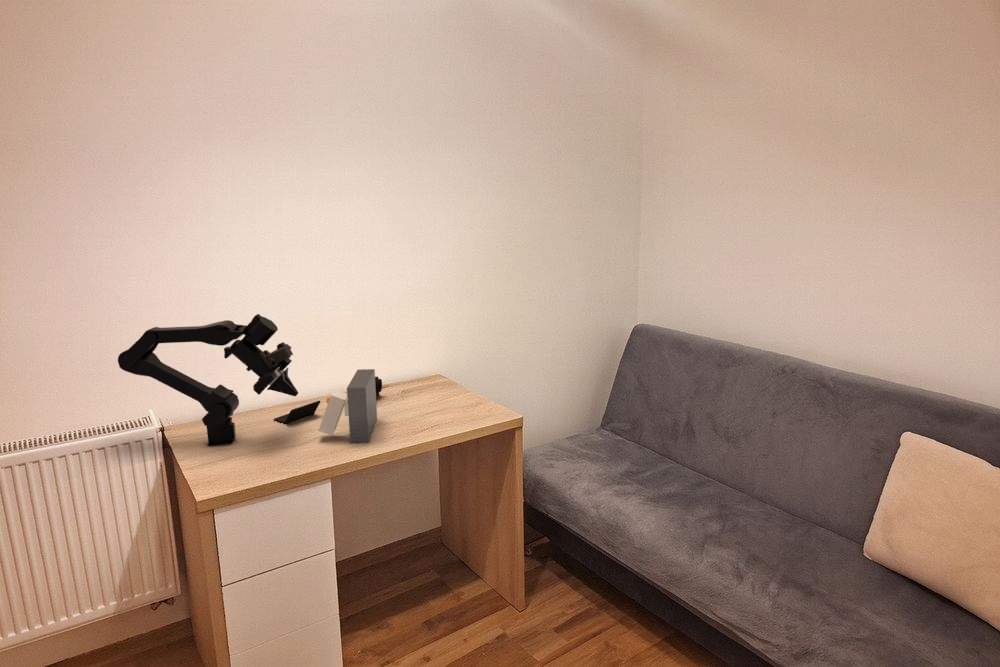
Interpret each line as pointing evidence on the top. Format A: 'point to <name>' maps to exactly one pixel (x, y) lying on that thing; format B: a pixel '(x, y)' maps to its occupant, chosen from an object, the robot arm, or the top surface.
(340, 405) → the block
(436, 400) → the top surface
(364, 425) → the rail board
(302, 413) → the handheld gaming console
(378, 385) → the digital camera
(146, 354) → the robot arm
